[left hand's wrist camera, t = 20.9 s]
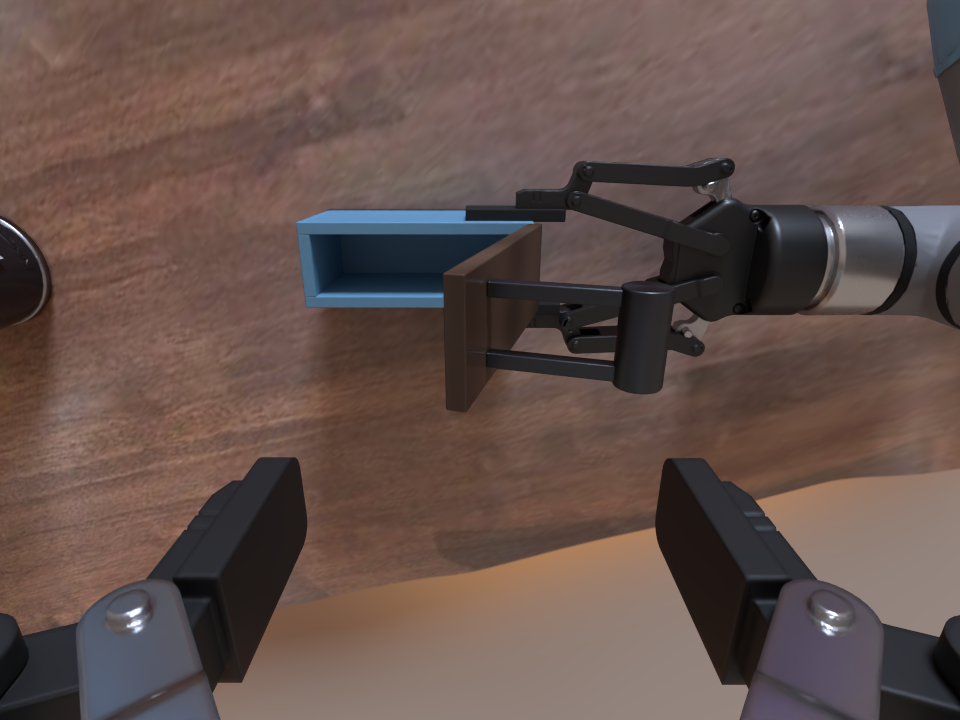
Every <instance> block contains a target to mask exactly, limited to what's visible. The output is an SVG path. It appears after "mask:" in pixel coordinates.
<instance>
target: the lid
mask: <svg viewBox="0 0 960 720" xmlns="http://www.w3.org/2000/svg"><path fill="white" fill-rule="evenodd" d="M541 236H542V224H527V225H526V226H524V227H522V228H521V229H519V230H517V231H515V232H514V233H512V234H510V235H508V236H507V237H505V238H503V239H502V240H500V241H498V242H496V243H495V244H493V245H491V246H489V247H488V248H486V249H484V250H483V251H481V252H479V253H477V254H476V255H474V256H472V257H471V258H469V259H467V260H465V261H464V262H462V263H460V264H458V265H457V266H455V267H453V268H452V269H450V270H448V271H446V272H445V273H443V297H444V340H445V382H446V409H447V410H452V411H459V412H467V410H468V409H469V407H470V406H471V405H472V403H473V402H474V400H475V399H476V398H477V396H478V395H479V393H480V392H481V390H482V389H483V388H484V386H485V385H486V383H487V382H488V381H489V379H490V378H491V376H492V375H493V373H494V372H495V371H496V369H505V370H514V371H523V372H532V373H541V374H550V375H559V376H568V377H577V378H586V379H595V380H604V381H612V383H613V385H614V386H615V387H616V388H618V389H620V390H622V391H625V392H629V393H634V394H653V393H656V392H659V391H660V390H661V389H662V387H663V379H664V372H665V365H666V358H667V350H668V343H669V336H670V328H671V321H672V314H673V307H674V299H675V292H676V290H675V288H674V287H673V286H671V285H668V284H664V283H659V282H651V281H633V282H628V283H624V284H623V285H622V287H615V286H600V285H585V284H570V283H555V282H540V260H541ZM539 301H544V302H557V303H571V304H584V305H597V306H610V307H619V315H618V325H617V335H616V345H615V355H614V361H609V360H599V359H589V358H579V357H569V356H559V355H550V354H540V353H530V352H520V351H510V349H511V348H512V347H513V345H514V344H515V342H516V341H517V340H518V338H519V337H520V335H521V334H522V332H523V331H524V330H525V328H526V327H527V325H528V324H529V323H530V321H531V320H532V318H533V317H534V316H535V314H536V313H537V311H538V306H539Z"/></svg>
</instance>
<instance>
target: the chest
mask: <svg viewBox="0 0 960 720" xmlns="http://www.w3.org/2000/svg"><path fill="white" fill-rule="evenodd" d="M527 224H534V222H533V221H466V209H330V210H327V211H325V212H323V213H320V214H317V215H315V216H312V217H309V218H307V219H304V220H301V221H299V222H296V226H297V234H298V243H299V252H300V260H301V268H302V277H303V285H304V293H305V302H306V307H307V308H444V297H443V273H445V272H446V271H448V270H450V269H452V268H453V267H455V266H457V265H458V264H460V263H462V262H464V261H465V260H467V259H469V258H471V257H472V256H474V255H476V254H477V253H479V252H481V251H483V250H484V249H486V248H488V247H489V246H491V245H493V244H495V243H496V242H498V241H500V240H502V239H503V238H505V237H507V236H508V235H510V234H512V233H514V232H515V231H517V230H519V229H521V228H522V227H524V226H526V225H527Z"/></svg>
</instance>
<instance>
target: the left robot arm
mask: <svg viewBox="0 0 960 720" xmlns="http://www.w3.org/2000/svg"><path fill="white" fill-rule="evenodd" d="M50 292H51V277H50V272H49V268H48V265H47V263H46V260H45V258H44V256H43V254H42V252H41V251H40V249H39V248H38V246H37V245H36V244H35V242H34V241H33V240H32V239H31V238H30V237H29V236H28V235H27V234H26V233H25V232H24V231H23V230H22V229H21V228H20V227H18V226H17V225H16V224H14V223H13V222H11V221H9V220H8V219H6V218H4V217H2V216H0V329H2V328H5V327H7V326H12V325H16V324H20V323H22V322H25V321H28V320H30V319H32V318H34V317H35V316H37V315H38V314H39V313H40V312H41V311H42V310H43V309H44V307H45V306H46V304H47V302H48V299H49V297H50ZM655 527H656V536H657V540H658V544H659V547H660V549H661V551H662V554H663V556H664V558H665V560H666V563H667V565H668V567H669V569H670V571H671V573H672V576H673V578H674V580H675V582H676V585H677V587H678V589H679V591H680V593H681V595H682V598H683V600H684V602H685V604H686V606H687V609H688V611H689V613H690V615H691V617H692V620H693V622H694V624H695V626H696V628H697V631H698V633H699V635H700V637H701V639H702V642H703V644H704V646H705V648H706V650H707V652H708V655H709V657H710V659H711V661H712V664H713V666H714V668H715V670H716V672H717V674H718V677H719V679H720V681H721V683H722V685H747V687H748V689H749V691H748V694H747V697H746V700H745V704H744V707H743V710H742V713H741V717H740V720H960V615H959V616H954V617H952V618H950V619H949V620H948V621H947V622H946V624H945V626H944V628H943V631H942V633H941V635H940V637H936V636H932V635H928V634H924V633H919V632H915V631H911V630H907V629H903V628H898V627H894V626H890V625H887V624H883V623H881V621H880V619H879V618H878V616H877V615H876V614H875V612H874V611H873V610H872V609H871V608H870V607H869V606H868V605H867V604H866V603H864V602H863V601H862V600H861V599H859V598H858V597H856V596H855V595H853V594H852V593H850V592H848V591H846V590H844V589H842V588H840V587H838V586H836V585H833V584H830V583H827V582H823V581H819V580H817V579H816V577H815V576H814V575H813V574H812V572H811V571H810V570H809V569H808V567H807V566H806V565H805V563H804V562H803V561H802V560H801V558H800V557H799V556H798V555H797V553H796V552H795V551H794V550H793V548H792V547H791V546H790V544H789V543H788V542H787V541H786V539H785V538H784V537H783V536H782V534H781V533H780V532H779V531H776V527H775V526H774V524H773V523H772V522H771V520H770V519H769V518H768V517H765V513H764V512H763V510H762V509H761V508H760V507H759V505H758V504H757V503H756V501H755V500H754V499H753V498H752V496H750V495H749V494H747V493H746V492H745V491H743V490H742V489H740V488H739V487H737V486H736V485H734V484H733V483H731V482H721V481H720V480H719V478H718V477H717V475H716V474H715V473H714V471H713V470H712V469H711V467H710V466H709V465H708V463H707V462H706V461H705V460H704V459H702V458H668V459H666V461H665V462H664V465H663V470H662V477H661V483H660V490H659V497H658V504H657V511H656V519H655ZM306 532H307V513H306V506H305V499H304V492H303V485H302V478H301V471H300V465H299V462H298V460H297V459H296V458H294V457H261V458H259V459H258V460H257V461H256V462H255V464H254V465H253V466H252V468H251V469H250V471H249V472H248V473H247V475H246V476H245V477H244V479H243V480H242V481H232V482H230V483H229V484H227V485H226V486H224V487H223V488H222V489H220V490H219V491H217V492H216V493H214V494H213V495H212V496H211V497H210V498H209V500H208V501H207V502H206V503H205V505H204V506H203V507H202V508H201V510H200V511H199V515H196V516H195V517H194V519H193V520H192V521H191V522H190V524H189V525H188V528H187V530H184V531H183V533H182V534H181V535H180V537H179V538H178V539H177V540H176V542H175V543H174V544H173V545H172V547H171V548H170V549H169V551H168V552H167V553H166V554H165V556H164V557H163V558H162V559H161V561H160V562H159V563H158V565H157V566H156V567H155V568H154V570H153V571H152V572H151V574H150V575H149V576H148V577H147V579H146V580H141V581H137V582H133V583H130V584H127V585H124V586H122V587H120V588H118V589H116V590H114V591H112V592H110V593H108V594H107V595H105V596H104V597H102V598H101V599H99V600H98V601H97V602H96V603H94V604H93V605H92V606H91V607H90V608H89V609H88V610H87V611H86V612H85V614H84V615H83V616H82V618H81V619H80V621H79V622H78V623H75V624H71V625H66V626H62V627H58V628H54V629H50V630H45V631H41V632H37V633H33V634H29V635H24V636H22V634H21V631H20V629H19V626H18V624H17V622H16V620H15V619H14V618H13V617H12V616H10V615H8V614H3V613H0V720H220V717H219V714H218V710H217V707H216V704H215V700H214V697H213V694H212V693H213V691H214V689H215V687H216V685H217V683H241V682H242V681H243V679H244V676H245V674H246V672H247V670H248V668H249V665H250V663H251V661H252V659H253V656H254V654H255V652H256V650H257V648H258V645H259V643H260V641H261V639H262V636H263V634H264V632H265V630H266V628H267V625H268V623H269V621H270V619H271V616H272V614H273V612H274V610H275V608H276V605H277V603H278V601H279V599H280V596H281V594H282V592H283V590H284V588H285V585H286V583H287V581H288V579H289V576H290V574H291V572H292V570H293V568H294V565H295V563H296V561H297V559H298V556H299V554H300V552H301V550H302V548H303V545H304V542H305V538H306Z"/></svg>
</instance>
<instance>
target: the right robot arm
mask: <svg viewBox="0 0 960 720" xmlns="http://www.w3.org/2000/svg"><path fill="white" fill-rule="evenodd" d="M927 12H928V18H929V27H930V35H931V43H932V51H933V59H934V69H933V72H934V74H935V77H936V78H938V80H939V84H940V88H941V92H942V96H943V100H944V104H945V108H946V112H947V116H948V120H949V124H950V128H951V132H952V136H953V140H954V144H955V148H956V152H957V156H958V160H959V164H960V0H927ZM734 170H735V164H734V162H733V161H732V160H731V159H728V158H708V159H705V160H702V161H699V162H696V163H692V164H689V165H686V166H671V165H652V164H633V163H613V162H594V161H579V162H578V163H576V164H575V166H574V168H573V173H572V176H571V178H570V181H569V183H568V184H567V185H566V186H565V187H564V188H562V189H522V190H520V191H518V192H516V206H466V221H533V222H565V214H566V210H574V211H577V212H581V213H584V214H587V215H590V216H593V217H597V218H600V219H603V220H606V221H610V222H613V223H616V224H619V225H622V226H626V227H629V228H632V229H635V230H638V231H642V232H645V233H648V234H651V235H654V236H658V237H661V238H664V243H663V250H664V261H663V263H662V266H661V268H660V275H659V276H656V277H653V278H649V279H647V280H645V281H651V282H659V283H664V284H668V285H671V286H673V287H674V288H675V290H676V292H675V299H674V304H676V303H681V304H682V305H684V306H685V307H686V308H687V309H689V310H690V311H691V312H693V313H694V314H693V316H692V317H691V318H690V319H688V320H678V321H676V322H674V324H673V326H671V328H670V336H669V343H668V350H674V351H677V352H680V353H684V354H687V355H690V356H695V357H696V356H699V355H701V354H702V353H703V352H704V349H705V346H704V344H703V343H702V342H701V340H702V338H703V336H704V334H705V332H706V330H707V328H708V326H709V324H710V322H712V321H717V320H719V319H721V318H723V317H726V316H729V315H792V314H796V313H798V314H800V315H912V316H920V317H925V318H929V319H932V320H935V321H937V322H940V323H943V324H945V325H948V326H951V327H953V328H956V329H959V330H960V206H866V205H814V206H811V207H807V206H804V205H746V204H743V203H742V202H740V201H739V200H737V199H734V198H732V197H731V190H730V182H729V176H731V175H732V174H733V172H734ZM592 182H607V183H627V184H646V185H666V186H685V187H691V186H692V188H693V190H694V192H696V193H698V194H703V195H708V196H709V197H710V198H711V201H710V202H709V203H707V204H706V205H704V206H703V207H701V208H700V209H698V210H697V211H695V212H694V213H692V214H691V215H689V216H688V217H686V218H685V219H683V220H682V221H680V222H676V221H673V220H669V219H666V218H663V217H660V216H657V215H653V214H650V213H647V212H644V211H641V210H637V209H634V208H631V207H628V206H625V205H622V204H618V203H615V202H612V201H609V200H606V199H603V198H599V197H596V196H593V195H590V194H588V192H589V189H590V187H591V184H592ZM618 315H619V307H610V306H597V305H584V304H571V303H567V304H563V305H560V303H557V302H544V301H539V306H538V311H537V313H536V314H535V316H534V317H533V318H532V320H531V321H530V323H529V324H528V325H527V327H526V328H557V329H559V330H560V331H561V332H562V335H563V339H564V341H565V343H566V345H567V348H568V350H569V351H570V352H571V353H575V354H580V353H604V352H615V345H616V335H617V326H596V327H582V326H586V325H589V324H593V323H597V322H600V321H604V320H608V319H611V318H615V317H618Z"/></svg>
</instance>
